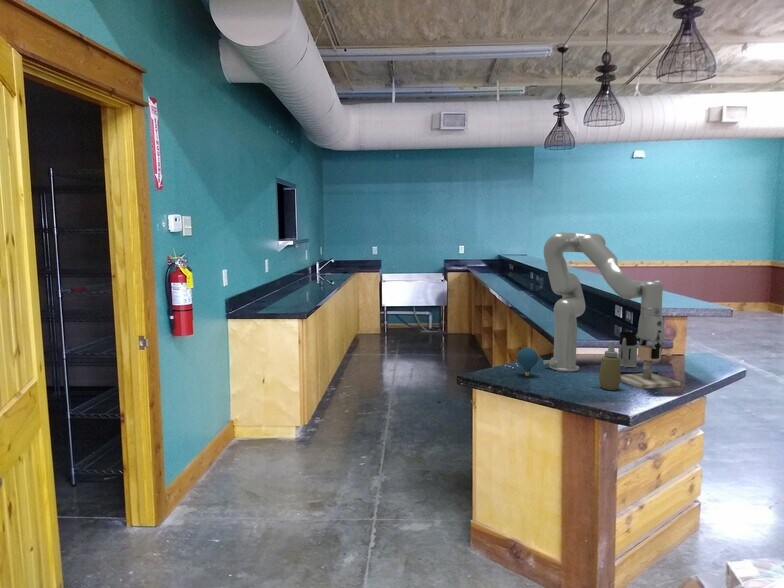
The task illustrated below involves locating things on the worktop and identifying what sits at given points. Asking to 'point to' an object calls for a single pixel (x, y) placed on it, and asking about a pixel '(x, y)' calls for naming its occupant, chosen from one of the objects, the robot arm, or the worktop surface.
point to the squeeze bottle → (610, 369)
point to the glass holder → (627, 349)
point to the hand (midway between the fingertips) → (649, 356)
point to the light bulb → (527, 359)
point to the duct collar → (647, 352)
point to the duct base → (648, 383)
